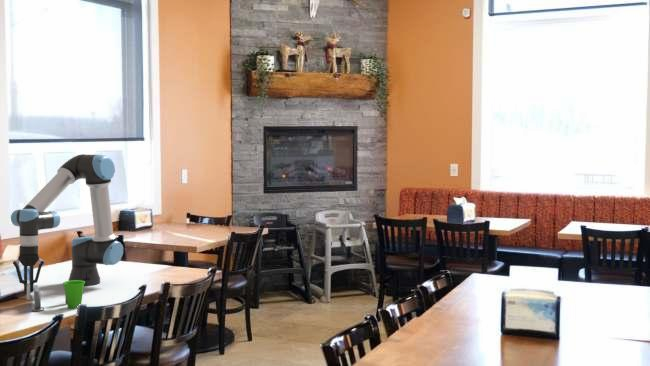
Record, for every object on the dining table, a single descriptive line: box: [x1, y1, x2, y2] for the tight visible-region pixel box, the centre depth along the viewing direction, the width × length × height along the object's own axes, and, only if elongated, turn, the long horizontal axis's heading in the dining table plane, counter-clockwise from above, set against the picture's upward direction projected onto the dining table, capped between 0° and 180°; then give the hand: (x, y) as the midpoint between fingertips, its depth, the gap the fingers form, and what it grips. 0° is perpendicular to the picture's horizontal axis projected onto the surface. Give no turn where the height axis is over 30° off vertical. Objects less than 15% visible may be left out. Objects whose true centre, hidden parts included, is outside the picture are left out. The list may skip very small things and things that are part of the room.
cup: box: [62, 280, 85, 310], centre depth 332 cm, size 9×9×11 cm
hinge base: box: [30, 307, 45, 313], centre depth 326 cm, size 5×5×1 cm
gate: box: [33, 284, 42, 309], centre depth 332 cm, size 17×2×7 cm, turn 23°
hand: (28, 298), depth 335 cm, fingers closed
